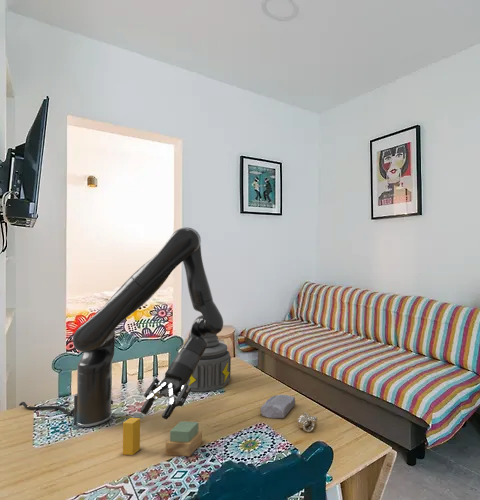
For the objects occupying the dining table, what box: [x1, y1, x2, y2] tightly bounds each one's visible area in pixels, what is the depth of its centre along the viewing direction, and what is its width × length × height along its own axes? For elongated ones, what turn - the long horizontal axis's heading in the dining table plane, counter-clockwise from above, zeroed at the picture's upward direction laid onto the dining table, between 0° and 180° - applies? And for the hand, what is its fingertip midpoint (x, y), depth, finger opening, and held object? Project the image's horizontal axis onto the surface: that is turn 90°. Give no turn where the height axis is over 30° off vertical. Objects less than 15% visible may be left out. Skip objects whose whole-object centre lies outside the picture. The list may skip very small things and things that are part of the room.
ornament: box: [296, 411, 318, 433], centre depth 115 cm, size 8×7×4 cm
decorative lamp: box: [186, 334, 232, 393], centre depth 148 cm, size 19×19×30 cm
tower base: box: [165, 430, 203, 457], centre depth 101 cm, size 7×7×4 cm
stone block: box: [260, 394, 296, 419], centre depth 126 cm, size 12×5×10 cm
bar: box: [122, 417, 141, 456], centre depth 99 cm, size 3×3×9 cm
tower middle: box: [169, 420, 199, 442], centre depth 101 cm, size 6×6×3 cm
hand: (153, 415), depth 106 cm, fingers open, 8 cm apart
